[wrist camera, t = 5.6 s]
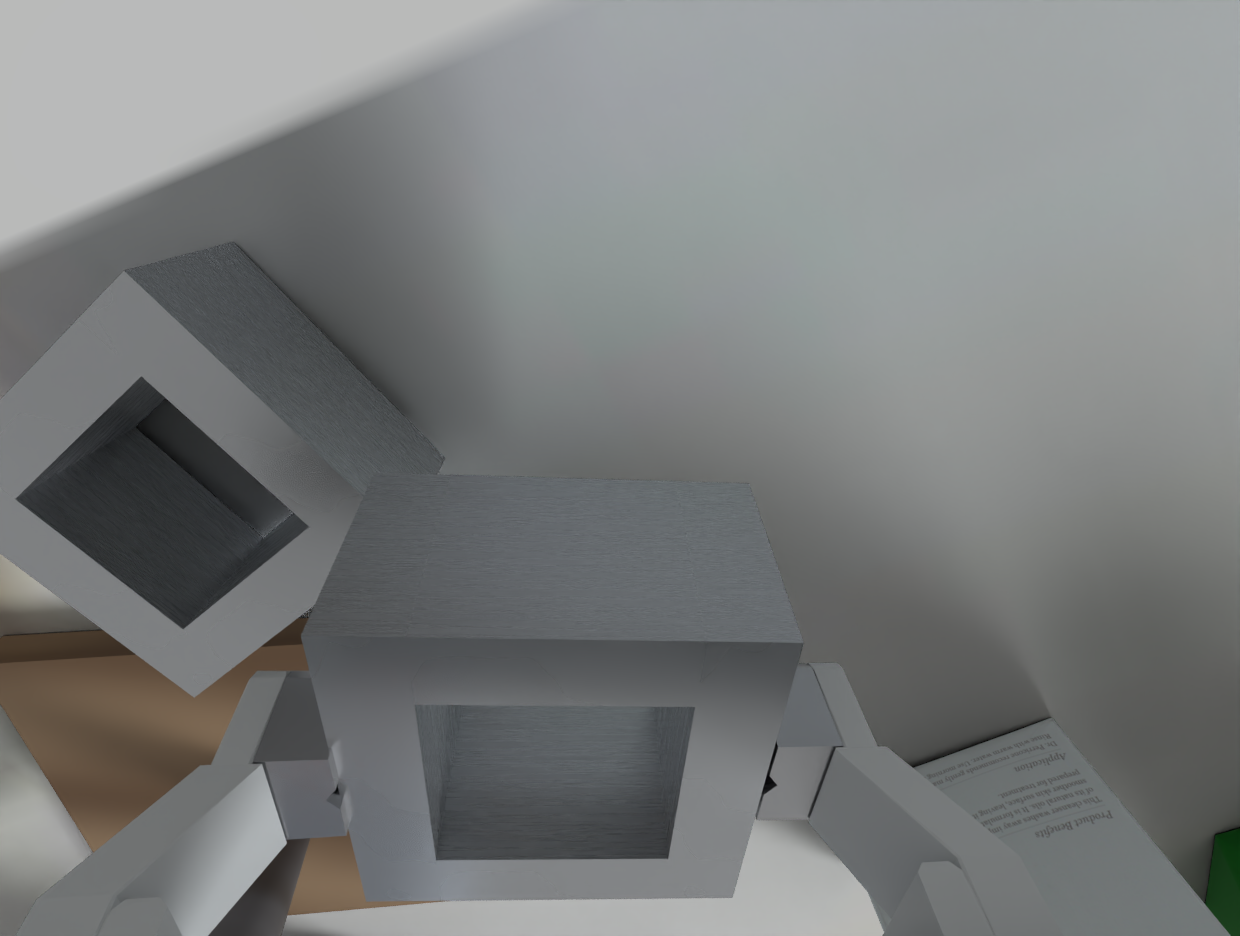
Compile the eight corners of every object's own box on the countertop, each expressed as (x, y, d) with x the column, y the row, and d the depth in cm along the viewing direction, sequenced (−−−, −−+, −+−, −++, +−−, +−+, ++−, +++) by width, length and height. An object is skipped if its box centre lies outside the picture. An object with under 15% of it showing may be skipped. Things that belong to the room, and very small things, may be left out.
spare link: (55, 419, 16) (-86, 489, 13) (232, 241, 14) (124, 270, 11) (269, 597, 18) (194, 697, 15) (445, 458, 16) (404, 535, 13)
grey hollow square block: (374, 472, 11) (301, 635, 8) (749, 483, 12) (803, 642, 9) (410, 720, 15) (366, 901, 12) (703, 722, 15) (732, 897, 12)
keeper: (2, 635, 19) (-288, 950, 12) (473, 607, 19) (436, 885, 13) (155, 897, 25) (16, 1199, 18) (508, 867, 26) (495, 1144, 19)
